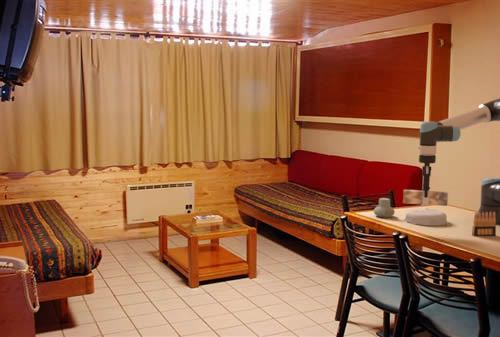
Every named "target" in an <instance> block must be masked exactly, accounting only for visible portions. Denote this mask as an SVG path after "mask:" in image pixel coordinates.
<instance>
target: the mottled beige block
mask: <svg viewBox="0 0 500 337" xmlns="http://www.w3.org/2000/svg"><path fill="white" fill-rule="evenodd" d="M402 198H403V199H402V204H408V205H409V204H410V205H411V204H412V205H414V204H415V205H427V206H440V207H441V206H442V207H447V206H448V199H449V192H448V191H435V190H434V191H433V190H429V203H428V204H422V202H423V191H422V189H421V190H418V189H403V196H402Z"/></svg>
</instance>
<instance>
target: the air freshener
mask: <svg viewBox="0 0 500 337" xmlns="http://www.w3.org/2000/svg"><path fill="white" fill-rule="evenodd" d="M373 214H374V215H375V216H376V217H378V218H381V217H382V218H381V219H383V218H385V219H389V218H391V217H393V216H394V215H395V209H394V208H393V207H391V199H390V198H386V197H382V198H381V197H380V198H379V199H378V206H376V207H375V208H374V209H373Z"/></svg>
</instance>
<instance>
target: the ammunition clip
mask: <svg viewBox="0 0 500 337" xmlns="http://www.w3.org/2000/svg"><path fill="white" fill-rule="evenodd" d="M477 213H478V211H475V213H474V217H473V218H474V219H473V225H472V231H471V232H472V233H471V236H472V237H496V234H497V233H496V232H497V227H496V224H495V223H496V220H495V212H494V213H493V217H492V214H491V212H490V214H489V220H488V212H486V215H485V220H484V212H483V213H482V218H481V213H480V212H479V214H478V220H477Z"/></svg>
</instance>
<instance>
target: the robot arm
mask: <svg viewBox="0 0 500 337" xmlns="http://www.w3.org/2000/svg"><path fill="white" fill-rule="evenodd" d="M490 122H500V98H496V99H493V100H491V101H487V102H485V103H483V104H480V105H478V106H477V107H476V108H474V109H471V110H468V111H466V112H462V113H459V114H457V115H454V116H451V117H449V118H445V119H441V120H439V121H422V122H420V127H419V128H420V130H419V147H417V149H418V150H419V151H418V152H419V156H418V162H419V163H420V164H424V165H423V166H422V168H421V169H422V170H421V171H422V176H423V177H422V178H423V179H422V181H423V182H422V188H421V191H423V202H422V204H421V205H424V204H428V203H429V191H430V189H431V186H430V179H431V178H430V177H431V175H432V172H431V171H432V166H431V164H435V163H436V160H437V158H436V154H437V144H438V143H442V142H445V143H447V142H451V143H452V142H457V141H458V140H459V139H460V138H461V130H463V129H466V128H467V129H468V128H470V127H472V126H476V125H478V124H481V123H485V124H487V123H490ZM480 187H481V189H480V206H479V208H478V210H477V220H478V214H479V212H480V213H481V218H482V213H483V212H484V220H485V215H486V212H488V220H489V214H490V212H491V214H492V217H493V213H494V212H495V220H496V223H495V225H500V177H499V178H498V177H496V178H495V177H492V178H491V177H490V178H483V179H482V181H481V186H480Z"/></svg>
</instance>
